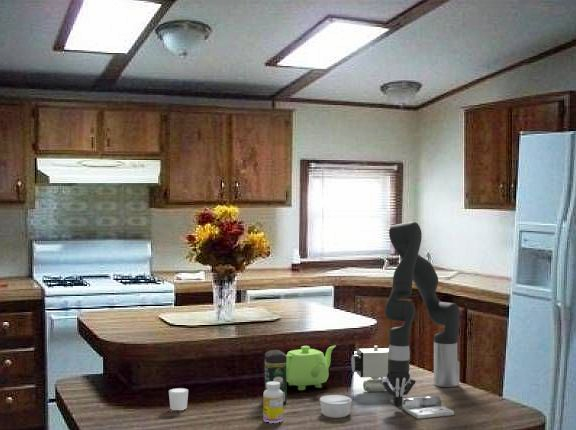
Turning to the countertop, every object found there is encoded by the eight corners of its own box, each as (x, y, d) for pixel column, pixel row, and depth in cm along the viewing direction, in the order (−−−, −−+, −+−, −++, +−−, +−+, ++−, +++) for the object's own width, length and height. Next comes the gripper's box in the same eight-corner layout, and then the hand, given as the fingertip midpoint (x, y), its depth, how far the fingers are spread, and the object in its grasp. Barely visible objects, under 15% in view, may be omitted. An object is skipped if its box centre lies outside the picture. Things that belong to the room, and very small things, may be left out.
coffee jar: (263, 398, 265) (263, 348, 265) (283, 396, 267) (283, 347, 266) (267, 405, 256) (267, 354, 255) (288, 404, 257) (288, 353, 257)
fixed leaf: (425, 399, 263) (425, 388, 263) (442, 408, 251) (442, 397, 251) (390, 402, 258) (390, 392, 258) (405, 412, 247) (405, 400, 247)
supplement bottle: (262, 418, 240) (262, 380, 240) (282, 417, 240) (282, 380, 240) (263, 424, 233) (263, 385, 233) (283, 423, 234) (283, 385, 234)
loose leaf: (435, 405, 255) (435, 394, 255) (453, 414, 243) (453, 403, 243) (400, 408, 251) (400, 397, 251) (417, 418, 239) (417, 406, 239)
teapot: (297, 397, 266) (297, 355, 266) (272, 384, 285) (272, 345, 285) (353, 389, 278) (353, 349, 278) (325, 377, 297) (325, 339, 297)
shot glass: (191, 408, 252) (191, 388, 252) (182, 413, 246) (182, 393, 245) (174, 406, 254) (174, 387, 254) (165, 411, 248) (165, 391, 248)
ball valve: (395, 387, 280) (395, 343, 280) (401, 393, 272) (401, 347, 272) (350, 389, 278) (350, 344, 278) (355, 394, 270) (355, 348, 269)
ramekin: (342, 420, 237) (342, 405, 237) (313, 415, 243) (313, 400, 243) (357, 412, 247) (357, 397, 247) (329, 407, 253) (329, 393, 253)
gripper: (410, 354, 254) (409, 403, 254) (377, 356, 250) (375, 405, 250) (420, 359, 247) (419, 408, 247) (386, 360, 243) (385, 410, 242)
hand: (397, 406), depth 248 cm, fingers closed
